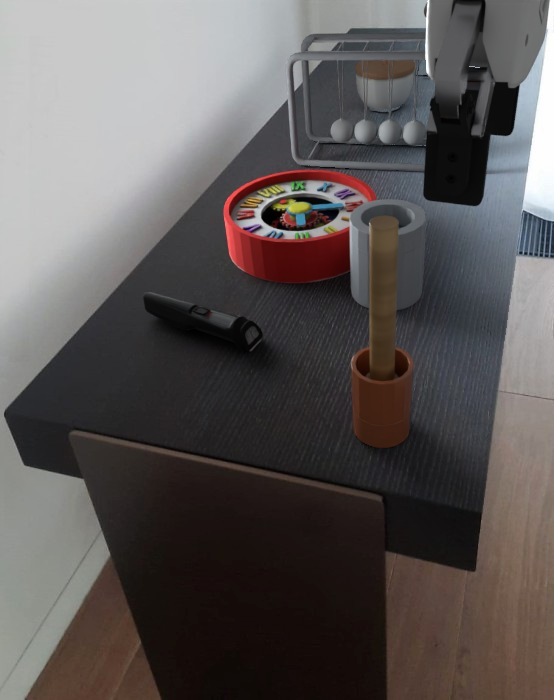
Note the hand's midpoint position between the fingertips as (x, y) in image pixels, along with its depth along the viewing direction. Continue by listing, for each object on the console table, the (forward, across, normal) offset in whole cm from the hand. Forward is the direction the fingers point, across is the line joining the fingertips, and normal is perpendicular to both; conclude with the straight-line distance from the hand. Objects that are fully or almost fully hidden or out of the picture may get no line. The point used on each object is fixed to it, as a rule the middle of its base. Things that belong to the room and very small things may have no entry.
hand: (471, 164), depth 42 cm
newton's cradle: (+30, +64, +24) cm, 75 cm away
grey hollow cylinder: (+30, +27, +13) cm, 43 cm away
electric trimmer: (+30, +14, +31) cm, 45 cm away
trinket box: (+30, +85, +31) cm, 96 cm away
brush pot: (+30, +5, +7) cm, 31 cm away
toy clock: (+30, +35, +27) cm, 54 cm away
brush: (+27, +5, +7) cm, 28 cm away
